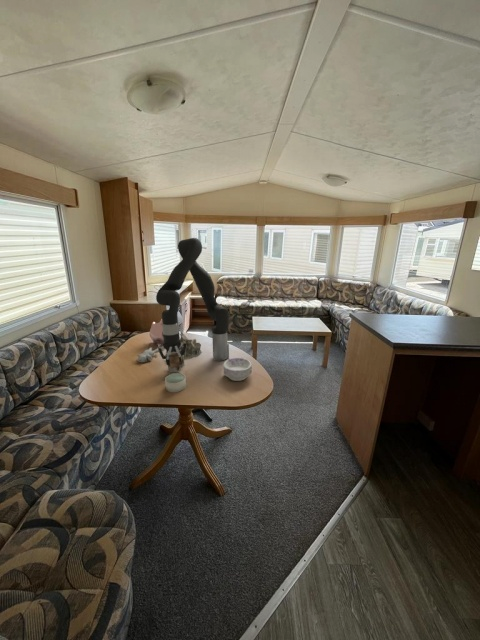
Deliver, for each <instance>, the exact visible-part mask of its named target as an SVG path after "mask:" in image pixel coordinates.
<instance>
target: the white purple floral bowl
mask: <svg viewBox="0 0 480 640" xmlns="http://www.w3.org/2000/svg"><path fill="white" fill-rule="evenodd" d="M252 367H253V364H252V362H251V361H250V360H249V359H248V358H243V357H233V358H227V359H226V360H224V363H223V375H224V376H225V377H228V379H229V380H230V381H233V382H241V381H244V380H245V379H247V377H249V376H251V374H252V372H253V371H252V369H253V368H252Z"/></svg>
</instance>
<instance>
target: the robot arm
mask: <svg viewBox="0 0 480 640" xmlns="http://www.w3.org/2000/svg"><path fill="white" fill-rule="evenodd" d="M177 249H178V253H179V255H180V257H181V258H182V259H181V260H180V261H179V262H178V263H177V264H176V266H175V267H174V268H173V269H172V270H171V273H170V274H169V276H168V278H167V280H166V282H164V284H163V285H162V286H161V287H160V288H159V289H158V291H157V293H156V295H155V298H156V299H155V300H156V302H157V304H159V305H160V306H169V307H168V308H169V309H165V310H163V311H162V312H161V320H162V323H163V326H162V329H163V339H164V344H162V346H161V347H158V346H157V349H158V350H159V352H158V353H159V355H160V357H161V358H162V360H165V364H166V366H167V367H168V366H170V362H169V356H170V353H171V352H176V353H177V354H178V355H179V363H180V362H181V356H182V355H184V354H185V349H186V343H185V342H183V343H181V342H180V338H181V335H180V327H179V326H180V325H179V320H178V319H179V317H178V314H179V313H178V312H179V306H180V301H181V296H180V294H179V292H178V291H180V290H181V289H182V287H183V285H184V283H185V279H186V277H187V275H188V274H189V272H190V275H191V276H192V279H193V280H194V284H195V286H196V287H197V290H198V292H199V294H200V296H201V298H202V300H203V302H204V305H205V307H206V311H207V313H208V316H209V318H210V320H213V321H214V322H215V326H212V330H211V335H212V337H211V338H212V358H213V360H214V361H218V362H220V361H227V360H228V359H230V346H229V345H230V344H229V342H228V328H229V320H230V319H229V318H230V317H229V316H230V313H229V310H228V309H227V308H226V307H225V306H224V307H223V306H220V305H219V303H218V301H217V300H216V298H215V290H216V288H215V283H214V282H213V279H212V276H211V274H210V273H208V271H207V270H205V268H203V266H201V265H200V264H199V263H198V262H197V260H198V258H200V255H201V254H202V252H203V245H202V242H201V241H200V239H199V238H197V237H191V238H190V237H189V238H186V239H182V240H180V241H179V242H178V243H177ZM180 345H181V346H182V348H181V352H179V347H180ZM164 350H165V355H164Z"/></svg>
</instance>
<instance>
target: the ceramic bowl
mask: <svg viewBox="0 0 480 640" xmlns="http://www.w3.org/2000/svg"><path fill="white" fill-rule="evenodd" d="M164 381H165V382H164V383H165V390H166V391H167V392H169V393H178V392H181V391H183V390H185V388H186V387H187V382H186V381H187V380H186V375H185V374H184V373H180V372H172V373H169V375H167V376H166V377H164Z"/></svg>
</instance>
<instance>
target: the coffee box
mask: <svg viewBox="0 0 480 640" xmlns="http://www.w3.org/2000/svg"><path fill="white" fill-rule="evenodd" d="M180 342H181V343H183V340H180ZM181 348H182V346H181V345H180V347H179V352H181ZM171 353H175V352H171ZM185 364H186V363H185V360H184V355H182V356H181V362H180V367H176V368H172V369H171V368H170V367H169V366H168V365H167V372H172V373H180V371H181V370H182V369H183V368H184V367H185Z"/></svg>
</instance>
